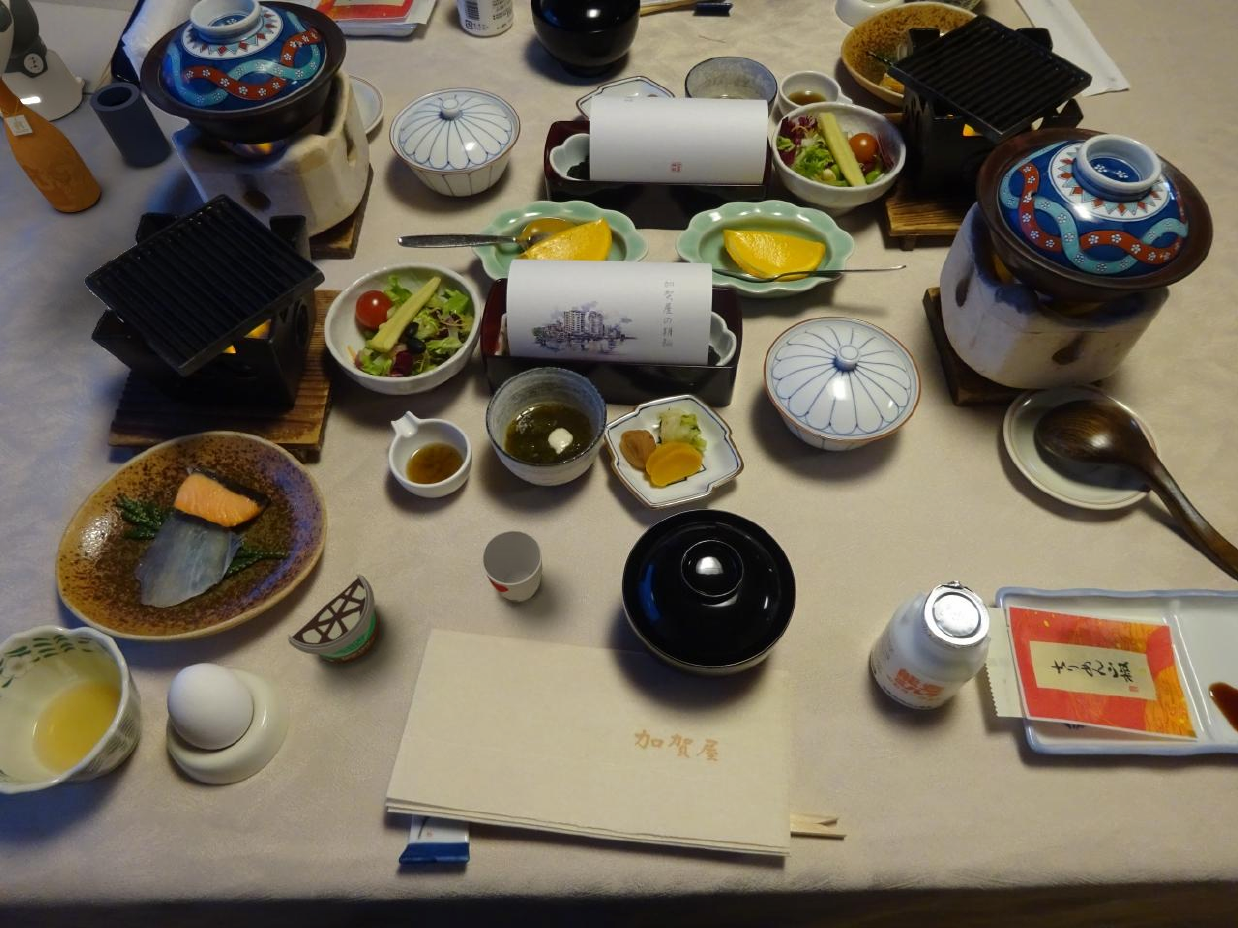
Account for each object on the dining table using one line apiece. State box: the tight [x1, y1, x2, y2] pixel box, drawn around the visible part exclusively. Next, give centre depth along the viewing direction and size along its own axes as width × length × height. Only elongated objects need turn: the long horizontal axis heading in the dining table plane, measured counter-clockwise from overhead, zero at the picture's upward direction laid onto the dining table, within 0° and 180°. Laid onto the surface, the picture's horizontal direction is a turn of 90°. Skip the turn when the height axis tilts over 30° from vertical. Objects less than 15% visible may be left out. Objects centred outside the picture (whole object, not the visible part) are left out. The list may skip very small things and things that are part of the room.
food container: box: [287, 573, 380, 664], centre depth 106 cm, size 12×6×10 cm, turn 139°
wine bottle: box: [0, 77, 101, 213], centre depth 145 cm, size 10×10×30 cm
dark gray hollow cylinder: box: [89, 82, 172, 169], centre depth 160 cm, size 9×9×13 cm
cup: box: [481, 529, 543, 603], centre depth 111 cm, size 8×8×10 cm
